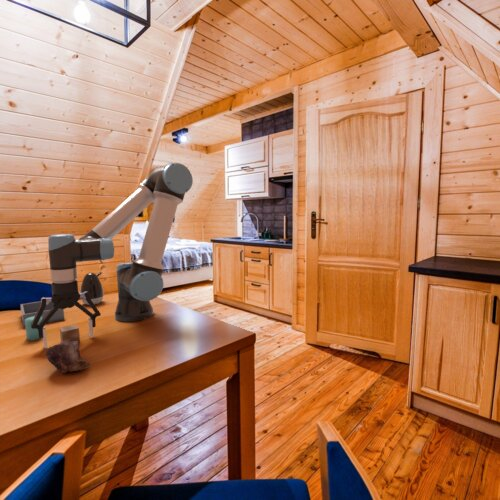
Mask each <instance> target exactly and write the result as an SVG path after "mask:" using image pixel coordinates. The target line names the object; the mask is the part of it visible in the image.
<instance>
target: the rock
mask: <svg viewBox="0 0 500 500" xmlns="http://www.w3.org/2000/svg"><path fill="white" fill-rule="evenodd" d="M45 356H46V358H47V360H48V362H49V363H50V364H51V365H52V366H54V368H55V369H56V370H58V371H59V372H60V373H62V374H66V373H67V372H68V373H69V372H76V371H77V372H78V371H82V370H85V369H87V368H89V367H90V363H89V362H87V361H86V360H85V359H84V358H83V357H82V356H81V354H80V344H79V343H78V341H77V340H70V341H66V342H63V343H58V344H53V345H52V346H49V347H47V348H46V351H45Z"/></svg>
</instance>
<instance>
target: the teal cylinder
mask: <svg viewBox="0 0 500 500" xmlns="http://www.w3.org/2000/svg"><path fill="white" fill-rule="evenodd" d="M34 317H35V316H34ZM34 317H29V318H26V319H25V327H24V328H25V334H26V335H25V336H26V340H27V341H35V340H41V339H40V338H39V335H38V329H35V328H34V329H32V328H31V323H32V321H33V319H34ZM41 320H42V317H40V320H39V322H38V324H39V323H40V322H41Z"/></svg>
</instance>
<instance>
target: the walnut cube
mask: <svg viewBox="0 0 500 500" xmlns="http://www.w3.org/2000/svg"><path fill="white" fill-rule="evenodd" d="M59 335H60V337H59V338H60V342H61V343H63V342H66V341H70V340H77V341H78V344H79V343H80V342H81V338H80V328H79V327H78V325H77V324H70V325H66V326H61V327H59ZM61 343H60V344H61Z"/></svg>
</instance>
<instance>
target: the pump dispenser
mask: <svg viewBox="0 0 500 500" xmlns="http://www.w3.org/2000/svg"><path fill="white" fill-rule="evenodd" d="M101 275H102V273H101V272H98V273H94V272H87V273H86V274H85V275H84V277H83V279H82V282H81V285H80V288H79V289H80V291H79V294H80V293H84V291H87V292H88V293H89V297H90V299H91V301H92V302H93V303H94V305H95V306H96V305H98V304H100V303H101V302H102V301H103V297H104V294H105V293H104V288H103V284H102V282H101V280H100V278H99V276H101ZM79 299H80V300H81V301H82V303H83V304H84V305H87V306H90V305H89V304H88V302H87V301H86V299H83V298H82V297H80V298H79Z"/></svg>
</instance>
